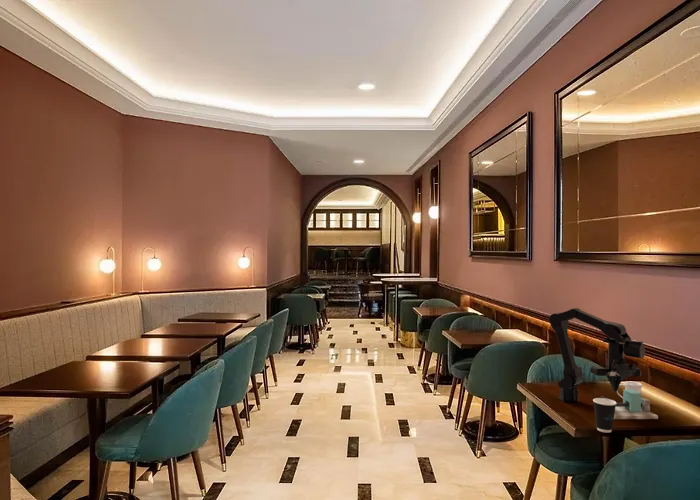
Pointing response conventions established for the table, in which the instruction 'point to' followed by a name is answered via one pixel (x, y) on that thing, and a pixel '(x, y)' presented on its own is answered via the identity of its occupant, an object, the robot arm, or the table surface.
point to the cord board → (626, 414)
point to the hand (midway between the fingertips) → (614, 391)
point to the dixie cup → (604, 414)
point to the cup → (631, 386)
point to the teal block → (632, 400)
